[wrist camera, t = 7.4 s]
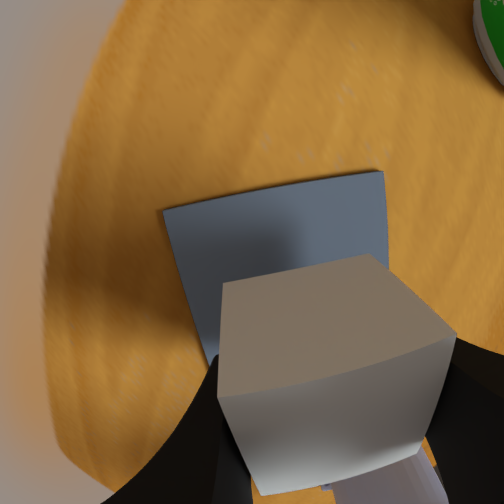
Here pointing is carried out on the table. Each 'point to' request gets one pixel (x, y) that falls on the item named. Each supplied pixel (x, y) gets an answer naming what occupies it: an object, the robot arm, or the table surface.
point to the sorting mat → (272, 237)
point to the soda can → (490, 33)
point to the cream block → (328, 371)
